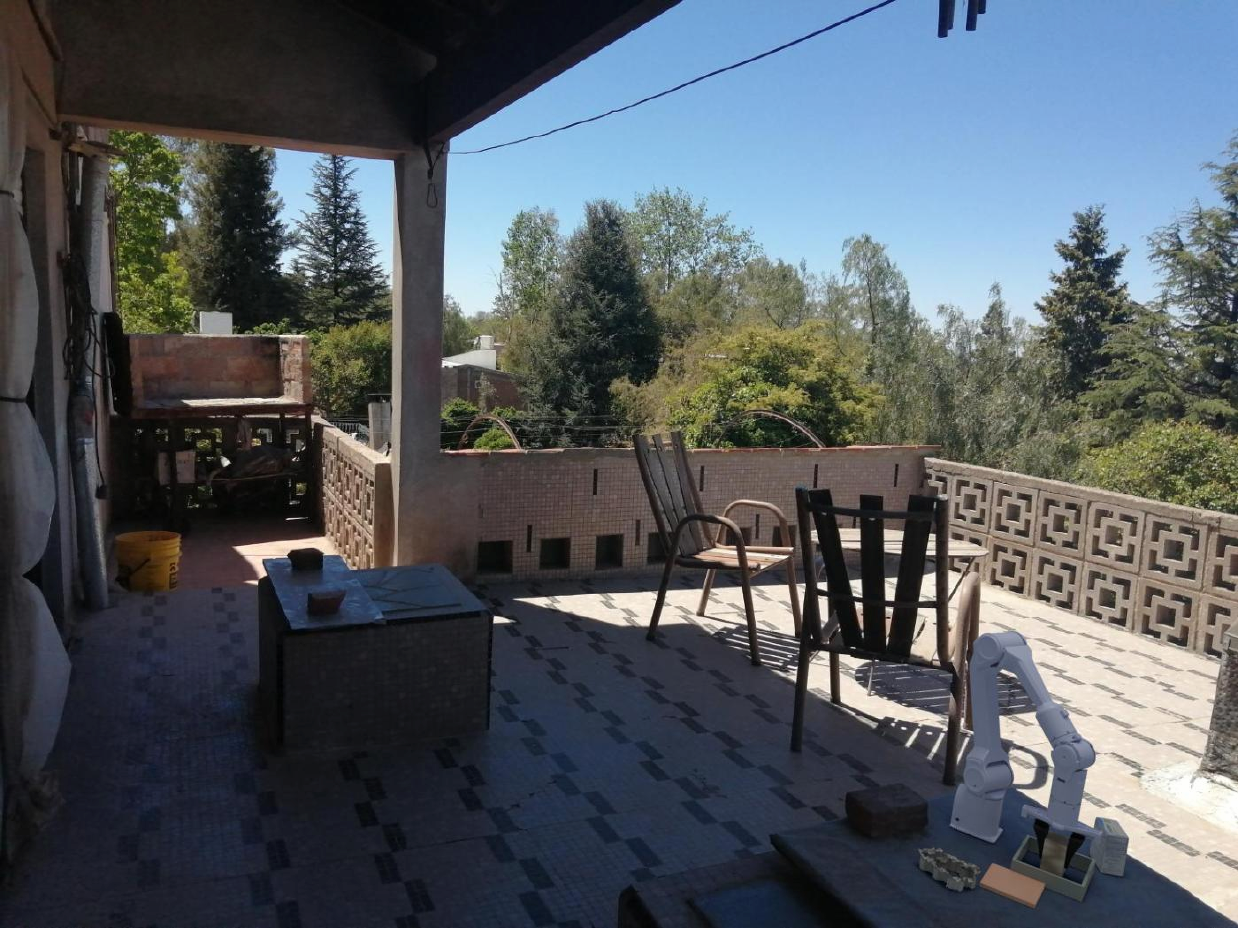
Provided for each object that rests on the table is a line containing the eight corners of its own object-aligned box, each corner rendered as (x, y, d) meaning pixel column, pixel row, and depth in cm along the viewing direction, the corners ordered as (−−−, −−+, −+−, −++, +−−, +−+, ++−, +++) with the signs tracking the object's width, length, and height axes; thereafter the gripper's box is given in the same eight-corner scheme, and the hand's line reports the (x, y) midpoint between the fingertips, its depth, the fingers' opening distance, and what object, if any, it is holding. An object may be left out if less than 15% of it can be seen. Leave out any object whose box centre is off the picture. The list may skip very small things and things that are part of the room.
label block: (1039, 871, 185) (1045, 838, 185) (1044, 861, 190) (1050, 829, 189) (1060, 879, 183) (1066, 846, 182) (1065, 869, 187) (1071, 837, 187)
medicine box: (1122, 877, 188) (1130, 837, 187) (1099, 872, 189) (1107, 833, 188) (1110, 858, 196) (1117, 819, 195) (1088, 853, 197) (1095, 815, 196)
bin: (1009, 873, 184) (1012, 859, 184) (1025, 847, 196) (1027, 834, 195) (1081, 901, 177) (1084, 887, 176) (1093, 873, 188) (1095, 859, 188)
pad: (979, 885, 178) (979, 882, 178) (992, 866, 186) (992, 862, 186) (1034, 908, 172) (1035, 904, 172) (1045, 887, 181) (1045, 883, 180)
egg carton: (980, 889, 177) (984, 869, 177) (951, 895, 174) (955, 874, 174) (940, 859, 187) (943, 840, 187) (912, 864, 184) (915, 845, 183)
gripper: (1022, 791, 185) (1011, 854, 187) (1102, 818, 177) (1090, 884, 179) (1030, 780, 191) (1019, 842, 193) (1107, 806, 183) (1095, 870, 184)
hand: (1053, 861), depth 186 cm, fingers closed on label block, 4 cm apart
